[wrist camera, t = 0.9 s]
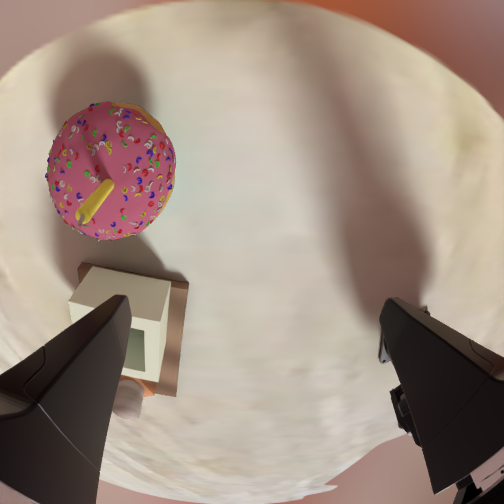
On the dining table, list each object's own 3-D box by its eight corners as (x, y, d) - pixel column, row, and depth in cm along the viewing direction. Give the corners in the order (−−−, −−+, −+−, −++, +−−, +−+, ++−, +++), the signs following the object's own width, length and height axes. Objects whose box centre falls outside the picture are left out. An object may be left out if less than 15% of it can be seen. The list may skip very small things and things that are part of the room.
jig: (176, 390, 31) (172, 432, 25) (98, 374, 29) (86, 412, 23) (189, 283, 24) (181, 331, 18) (82, 262, 22) (52, 302, 17)
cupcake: (195, 110, 18) (153, 100, 7) (177, 222, 21) (136, 329, 11) (87, 102, 16) (-29, 109, 5) (78, 207, 20) (-13, 288, 9)
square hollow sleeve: (165, 341, 25) (158, 382, 21) (98, 327, 24) (81, 364, 20) (170, 281, 22) (160, 321, 18) (92, 266, 21) (68, 301, 17)
